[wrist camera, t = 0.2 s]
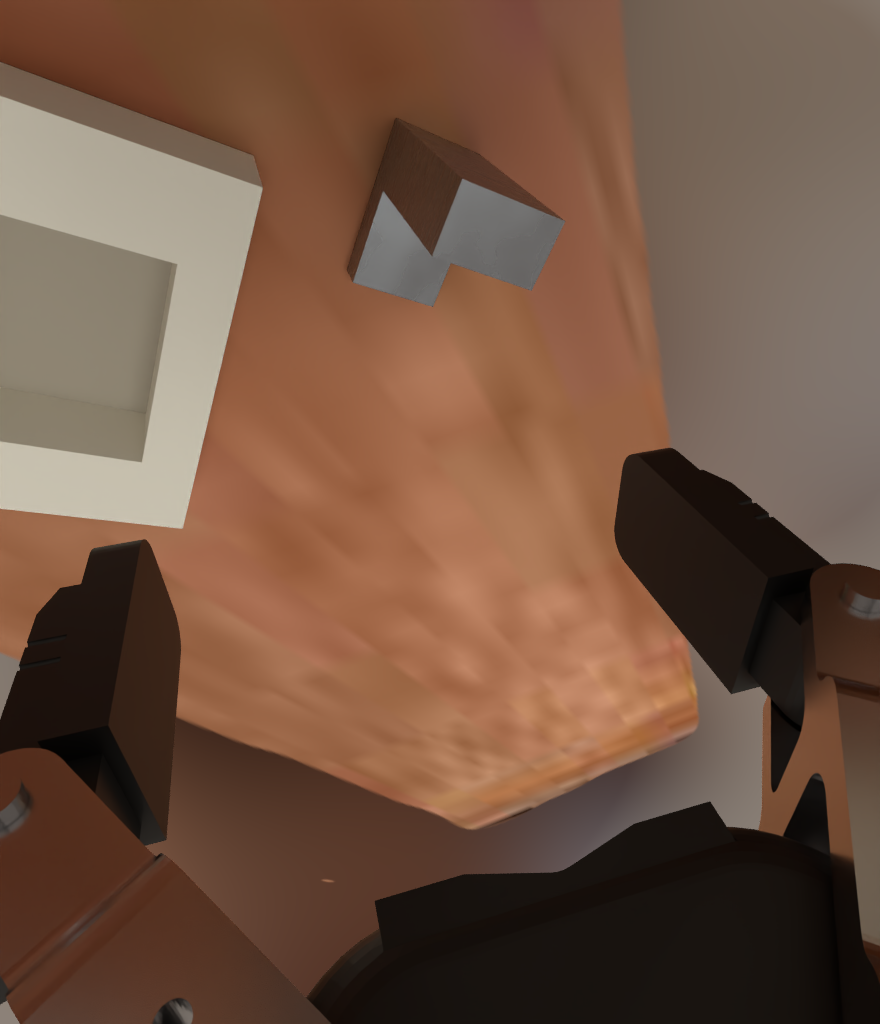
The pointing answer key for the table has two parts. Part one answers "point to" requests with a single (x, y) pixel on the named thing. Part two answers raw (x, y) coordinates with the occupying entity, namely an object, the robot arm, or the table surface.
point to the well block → (111, 300)
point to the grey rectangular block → (446, 220)
